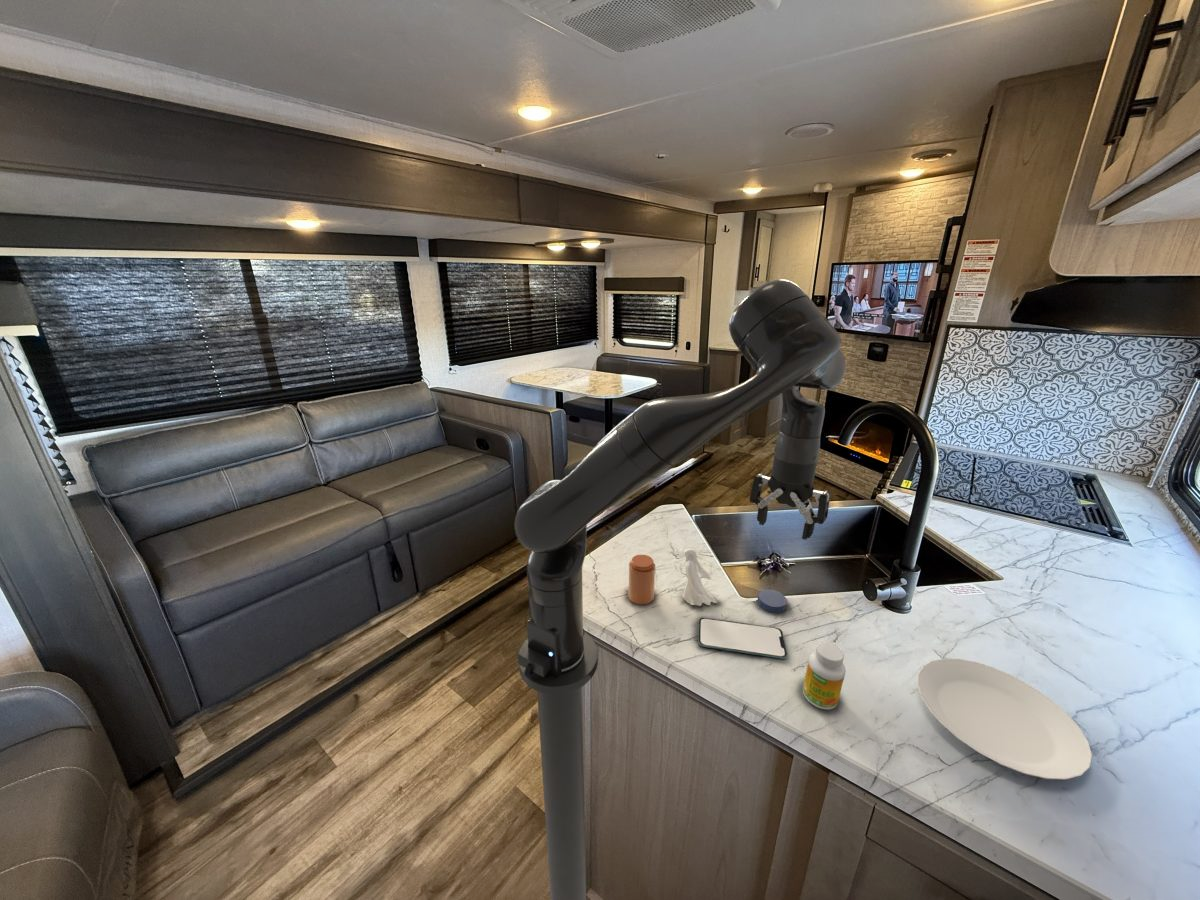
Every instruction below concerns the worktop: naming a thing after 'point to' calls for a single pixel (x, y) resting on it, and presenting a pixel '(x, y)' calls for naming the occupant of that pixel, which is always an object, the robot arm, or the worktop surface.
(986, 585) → the worktop surface
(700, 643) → the smartphone
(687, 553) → the figurine
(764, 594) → the jar lid
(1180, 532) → the worktop surface
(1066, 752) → the plate
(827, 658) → the supplement bottle
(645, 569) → the jar
